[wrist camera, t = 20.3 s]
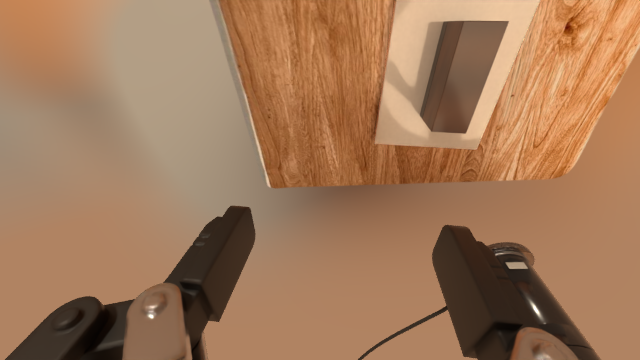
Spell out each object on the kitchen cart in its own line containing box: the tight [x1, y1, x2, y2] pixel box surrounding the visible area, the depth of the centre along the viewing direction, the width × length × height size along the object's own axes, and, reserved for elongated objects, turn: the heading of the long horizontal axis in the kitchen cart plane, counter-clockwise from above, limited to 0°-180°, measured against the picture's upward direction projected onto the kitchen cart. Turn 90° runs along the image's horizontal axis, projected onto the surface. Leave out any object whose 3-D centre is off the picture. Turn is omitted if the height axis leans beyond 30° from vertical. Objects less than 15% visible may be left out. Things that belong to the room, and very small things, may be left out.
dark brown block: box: [420, 21, 509, 134], centre depth 27 cm, size 11×4×6 cm, turn 178°
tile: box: [374, 0, 540, 150], centre depth 30 cm, size 20×15×2 cm
